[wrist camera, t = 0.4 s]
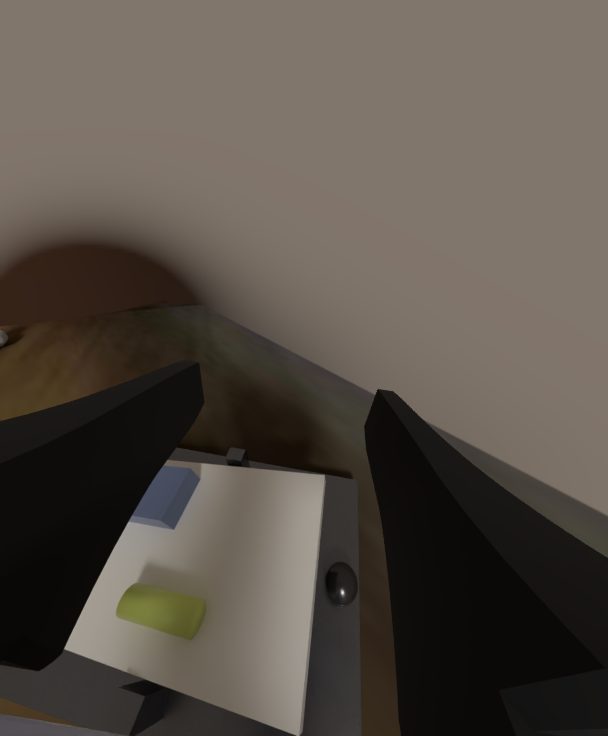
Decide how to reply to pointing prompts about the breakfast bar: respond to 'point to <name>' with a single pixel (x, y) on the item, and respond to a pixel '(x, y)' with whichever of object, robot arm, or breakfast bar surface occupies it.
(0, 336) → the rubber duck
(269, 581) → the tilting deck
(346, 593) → the base
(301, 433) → the breakfast bar surface
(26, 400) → the breakfast bar surface
